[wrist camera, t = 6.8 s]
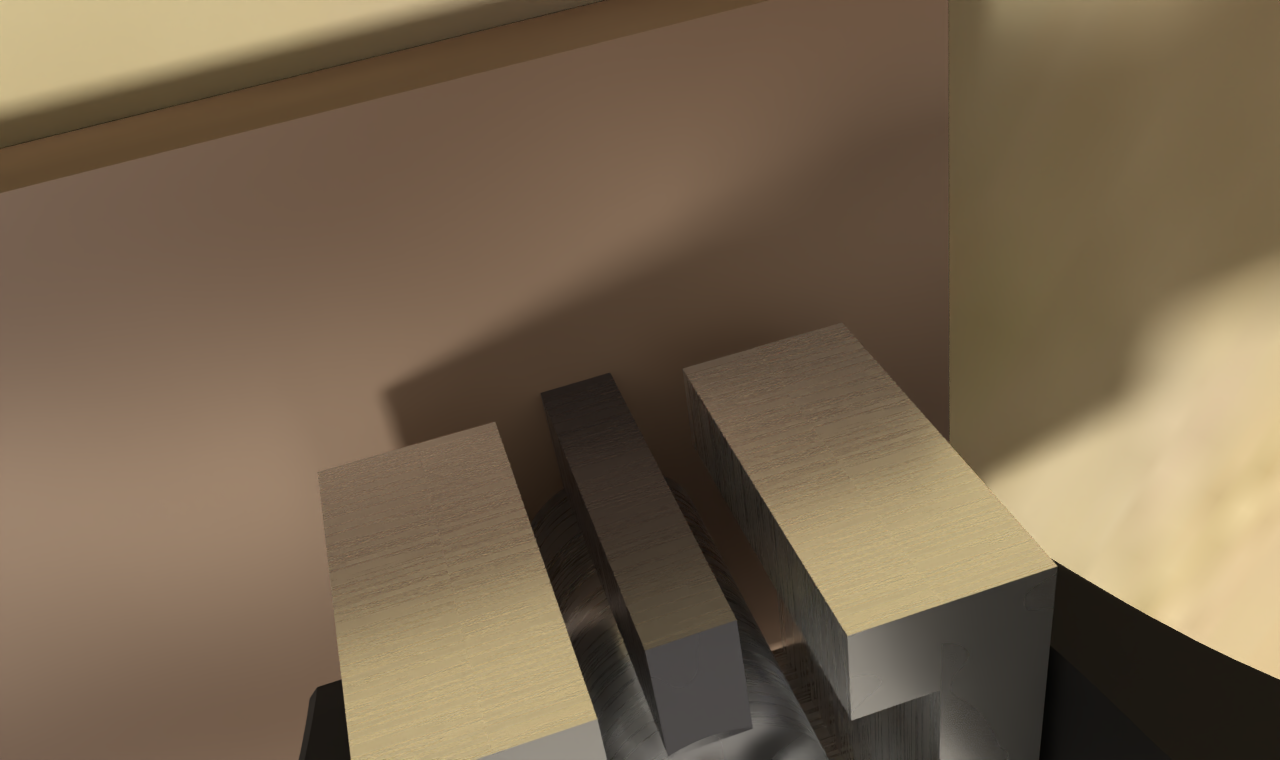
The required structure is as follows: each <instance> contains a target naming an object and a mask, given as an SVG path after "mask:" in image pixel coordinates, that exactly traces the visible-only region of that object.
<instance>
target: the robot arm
mask: <svg viewBox="0 0 1280 760" xmlns="http://www.w3.org/2000/svg"><path fill="white" fill-rule="evenodd" d="M1052 560H1053V559H1052ZM1053 562H1054V563H1055V564H1056V565H1057V566H1058V567H1057V577H1056V588H1055V598H1054V608H1053V619H1052V629H1051V640H1050V650H1049V661H1048V671H1047V681H1046V692H1045V702H1044V713H1043V723H1042V734H1041V744H1040V755H1039V760H1280V680H1279V679H1277V678H1274V677H1272V676H1270V675H1268V674H1266V673H1263V672H1261V671H1259V670H1257V669H1254V668H1252V667H1250V666H1248V665H1245V664H1243V663H1241V662H1239V661H1236V660H1234V659H1232V658H1230V657H1228V656H1226V655H1224V654H1222V653H1220V652H1218V651H1216V650H1213V649H1211V648H1209V647H1207V646H1205V645H1203V644H1201V643H1199V642H1197V641H1195V640H1193V639H1192V638H1190V637H1188V636H1186V635H1184V634H1182V633H1180V632H1178V631H1176V630H1175V629H1173V628H1171V627H1169V626H1167V625H1165V624H1163V623H1161V622H1159V621H1158V620H1156V619H1154V618H1152V617H1150V616H1148V615H1146V614H1145V613H1143V612H1141V611H1139V610H1138V609H1136V608H1134V607H1132V606H1130V605H1129V604H1127V603H1125V602H1123V601H1122V600H1120V599H1118V598H1116V597H1115V596H1113V595H1111V594H1110V593H1108V592H1106V591H1105V590H1103V589H1101V588H1099V587H1098V586H1096V585H1094V584H1093V583H1091V582H1089V581H1088V580H1086V579H1084V578H1083V577H1081V576H1079V575H1078V574H1076V573H1074V572H1072V571H1071V570H1069V569H1067V568H1066V567H1064V566H1063V565H1061V564H1059V563H1058V562H1056V561H1054V560H1053ZM299 760H351V756H350V747H349V739H348V730H347V721H346V713H345V704H344V695H343V687H342V679H341V680H338V681H335V682H331V683H328V684H325V685H322V686H319V687H317V688H316V690H315V691H314V693H313V694H312V695H311V697H310V699H309V706H308V712H307V719H306V725H305V730H304V735H303V741H302V746H301V751H300V756H299Z"/></svg>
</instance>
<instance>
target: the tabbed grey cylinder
mask: <svg viewBox="0 0 1280 760" xmlns="http://www.w3.org/2000/svg"><path fill="white" fill-rule="evenodd" d="M540 394H541V398H542V402H543V407H544V411H545V415H546V419H547V423H548V427H549V431H550V435H551V439H552V443H553V447H554V451H555V455H556V459H557V463H558V467H559V471H560V475H561V479H562V483H563V487H564V489H563V490H561V491H560V492H559V493H557V494H556V495H555V496H553V497H552V498H551V499H550V500H549V501H548V502H547V503H546V504H545V505H544V506H543V507H542V508H541V510H540V511H539V512H538V513H537V515H536V516H535V518H534V519H533V521H532V522H531V524H530V525H531V527H532V530H533V533H534V536H535V539H536V542H537V545H538V548H539V551H540V554H541V557H542V559H543V562H544V565H545V568H546V571H547V574H548V577H549V580H550V583H551V586H552V589H553V591H554V594H555V597H556V600H557V603H558V606H559V609H560V612H561V615H562V618H563V621H564V623H565V626H566V629H567V632H568V635H569V638H570V641H571V644H572V647H573V650H574V653H575V655H576V658H577V661H578V664H579V667H580V670H581V673H582V676H583V679H584V682H585V685H586V687H587V690H588V693H589V696H590V699H591V702H592V705H593V708H594V711H595V714H596V717H597V720H598V724H599V728H600V732H601V737H602V741H603V745H604V749H605V754H606V758H607V760H829V759H828V757H827V755H826V753H825V751H824V749H823V747H822V745H821V743H820V742H819V740H818V738H817V736H816V734H815V732H814V730H813V728H812V726H811V725H810V723H809V721H808V719H807V717H806V715H805V713H804V711H803V709H802V708H801V706H800V704H799V702H798V700H797V698H796V696H795V694H794V692H793V691H792V689H791V687H790V685H789V683H788V681H787V679H786V677H785V675H784V674H783V672H782V670H781V668H780V666H779V664H778V662H777V660H776V658H775V657H774V655H773V653H772V651H771V649H770V647H769V645H768V643H767V642H766V640H765V638H764V636H763V634H762V632H761V630H760V628H759V626H758V625H757V623H756V621H755V619H754V617H753V615H752V613H751V611H750V609H749V608H748V606H747V604H746V602H745V600H744V598H743V596H742V594H741V592H740V591H739V589H738V587H737V585H736V583H735V581H734V579H733V577H732V575H731V574H730V572H729V570H728V568H727V566H726V564H725V562H724V560H723V559H722V557H721V555H720V553H719V551H718V549H717V547H716V545H715V543H714V542H713V540H712V538H711V536H710V534H709V532H708V530H707V528H706V526H705V525H704V523H703V521H702V519H701V517H700V515H699V513H698V511H697V509H696V508H695V506H694V504H693V502H692V500H691V498H690V497H689V495H688V494H687V493H686V491H685V490H684V489H683V488H682V487H681V486H680V485H679V484H677V483H676V482H675V481H673V480H672V479H670V478H668V477H666V476H664V475H662V473H661V471H660V469H659V467H658V465H657V463H656V461H655V459H654V457H653V455H652V453H651V451H650V449H649V447H648V446H647V444H646V442H645V440H644V438H643V436H642V434H641V432H640V430H639V428H638V426H637V424H636V422H635V420H634V418H633V416H632V414H631V412H630V410H629V408H628V406H627V404H626V403H625V401H624V399H623V397H622V395H621V393H620V391H619V389H618V387H617V385H616V383H615V381H614V379H613V377H612V375H611V373H606V374H603V375H599V376H596V377H593V378H589V379H586V380H583V381H579V382H576V383H572V384H569V385H566V386H562V387H559V388H555V389H552V390H549V391H545V392H542V393H540Z"/></svg>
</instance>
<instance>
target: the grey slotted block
mask: <svg viewBox="0 0 1280 760" xmlns="http://www.w3.org/2000/svg"><path fill="white" fill-rule="evenodd" d="M682 371H683V378H684V386H685V393H686V400H687V407H688V415H689V422H690V429H691V437H692V444H693V445H694V447H695V449H696V451H697V452H698V454H699V456H700V458H701V459H702V461H703V463H704V465H705V466H706V468H707V470H708V471H709V473H710V475H711V477H712V478H713V480H714V482H715V484H716V485H717V487H718V489H719V491H720V492H721V494H722V496H723V498H724V499H725V501H726V503H727V505H728V506H729V508H730V510H731V512H732V513H733V515H734V517H735V519H736V520H737V522H738V524H739V526H740V527H741V529H742V531H743V532H744V534H745V536H746V538H747V539H748V541H749V543H750V545H751V546H752V548H753V550H754V552H755V553H756V555H757V557H758V559H759V560H760V562H761V564H762V566H763V567H764V569H765V571H766V573H767V574H768V576H769V578H770V580H771V581H772V583H773V585H774V587H775V588H776V590H777V598H778V608H779V619H780V630H781V640H782V648H779V649H776V650H773V651H772V653H773V655H774V657H775V658H776V660H777V662H778V664H779V666H780V668H781V670H782V672H783V674H784V675H785V677H786V679H787V681H788V683H789V685H790V687H791V689H792V691H793V692H794V694H795V696H796V698H797V700H798V702H799V704H800V706H801V708H802V709H803V711H804V713H805V715H806V717H807V719H808V721H809V723H810V725H811V726H812V728H813V730H814V732H815V734H816V736H817V738H818V740H819V742H820V743H821V745H822V747H823V749H824V751H825V753H826V755H827V757H828V759H829V760H1039V755H1040V744H1041V734H1042V723H1043V713H1044V702H1045V692H1046V681H1047V671H1048V661H1049V650H1050V640H1051V629H1052V619H1053V608H1054V598H1055V588H1056V577H1057V567H1058V566H1057V565H1056V564H1055V563H1054V562H1053V560H1052V559H1051V558H1050V557H1049V556H1048V555H1047V554H1046V553H1045V551H1044V550H1043V549H1042V548H1041V547H1040V546H1039V545H1038V544H1037V542H1036V541H1035V540H1034V539H1033V538H1032V537H1031V536H1030V534H1029V533H1028V532H1027V531H1026V530H1025V529H1024V528H1023V527H1022V525H1021V524H1020V523H1019V522H1018V521H1017V520H1016V519H1015V518H1014V516H1013V515H1012V514H1011V513H1010V512H1009V511H1008V510H1007V508H1006V507H1005V506H1004V505H1003V504H1002V503H1001V502H1000V501H999V499H998V498H997V497H996V496H995V495H994V494H993V493H992V492H991V490H990V489H989V488H988V487H987V486H986V485H985V484H984V482H983V481H982V480H981V479H980V478H979V477H978V476H977V475H976V473H975V472H974V471H973V470H972V469H971V468H970V467H969V465H968V464H967V463H966V462H965V461H964V460H963V459H962V458H961V456H960V455H959V454H958V453H957V452H956V451H955V450H954V449H953V447H952V446H951V445H950V444H949V443H948V442H947V441H946V439H945V438H944V437H943V436H942V435H941V434H940V433H939V432H938V430H937V429H936V428H935V427H934V426H933V425H932V424H931V423H930V421H929V420H928V419H927V418H926V417H925V416H924V415H923V413H922V412H921V411H920V410H919V409H918V408H917V407H916V406H915V404H914V403H913V402H912V401H911V400H910V399H909V398H908V397H907V395H906V394H905V393H904V392H903V391H902V390H901V389H900V387H899V386H898V385H897V384H896V383H895V382H894V381H893V380H892V378H891V377H890V376H889V375H888V374H887V373H886V372H885V371H884V369H883V368H882V367H881V366H880V365H879V364H878V363H877V361H876V360H875V359H874V358H873V357H872V356H871V355H870V354H869V352H868V351H867V350H866V349H865V348H864V347H863V346H862V345H861V343H860V342H859V341H858V340H857V339H856V338H855V337H854V335H853V334H852V333H851V332H850V331H849V330H848V329H847V328H846V326H845V325H844V324H843V323H839V324H836V325H832V326H828V327H825V328H821V329H818V330H814V331H811V332H807V333H804V334H800V335H797V336H793V337H790V338H786V339H783V340H779V341H776V342H772V343H769V344H765V345H762V346H758V347H755V348H751V349H748V350H744V351H741V352H737V353H734V354H730V355H727V356H723V357H720V358H716V359H713V360H709V361H705V362H702V363H698V364H695V365H691V366H688V367H684V368H682ZM318 479H319V488H320V497H321V505H322V514H323V523H324V531H325V540H326V549H327V557H328V566H329V574H330V583H331V592H332V600H333V609H334V618H335V626H336V635H337V644H338V652H339V661H340V670H341V678H342V687H343V695H344V704H345V713H346V721H347V730H348V739H349V747H350V756H351V760H607V758H606V754H605V749H604V745H603V741H602V737H601V732H600V728H599V724H598V720H597V717H596V714H595V711H594V708H593V705H592V702H591V699H590V696H589V693H588V690H587V687H586V685H585V682H584V679H583V676H582V673H581V670H580V667H579V664H578V661H577V658H576V655H575V653H574V650H573V647H572V644H571V641H570V638H569V635H568V632H567V629H566V626H565V623H564V621H563V618H562V615H561V612H560V609H559V606H558V603H557V600H556V597H555V594H554V591H553V589H552V586H551V583H550V580H549V577H548V574H547V571H546V568H545V565H544V562H543V559H542V557H541V554H540V551H539V548H538V545H537V542H536V539H535V536H534V533H533V530H532V527H531V525H530V522H529V519H528V516H527V513H526V510H525V507H524V504H523V501H522V498H521V495H520V493H519V490H518V487H517V484H516V481H515V478H514V475H513V472H512V469H511V466H510V463H509V461H508V458H507V455H506V452H505V449H504V446H503V443H502V440H501V437H500V434H499V431H498V429H497V426H496V423H495V422H491V423H488V424H484V425H481V426H477V427H474V428H470V429H467V430H463V431H460V432H456V433H452V434H449V435H445V436H442V437H438V438H435V439H431V440H428V441H424V442H421V443H417V444H414V445H410V446H407V447H403V448H400V449H396V450H393V451H389V452H386V453H382V454H379V455H375V456H372V457H368V458H365V459H361V460H358V461H354V462H351V463H347V464H344V465H340V466H337V467H333V468H329V469H326V470H322V471H319V472H318Z"/></svg>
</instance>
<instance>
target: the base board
mask: <svg viewBox="0 0 1280 760" xmlns="http://www.w3.org/2000/svg"><path fill="white" fill-rule="evenodd" d="M839 323H843V324H844V325H845V326H846V328H847V329H848V330H849V331H850V332H851V333H852V334H853V335H854V337H855V338H856V339H857V340H858V341H859V342H860V343H861V345H862V346H863V347H864V348H865V349H866V350H867V351H868V352H869V354H870V355H871V356H872V357H873V358H874V359H875V360H876V361H877V363H878V364H879V365H880V366H881V367H882V368H883V369H884V371H885V372H886V373H887V374H888V375H889V376H890V377H891V378H892V380H893V381H894V382H895V383H896V384H897V385H898V386H899V387H900V389H901V390H902V391H903V392H904V393H905V394H906V395H907V397H908V398H909V399H910V400H911V401H912V402H913V403H914V404H915V406H916V407H917V408H918V409H919V410H920V411H921V412H922V413H923V415H924V416H925V417H926V418H927V419H928V420H929V421H930V423H931V424H932V425H933V426H934V427H935V428H936V429H937V430H938V432H939V433H940V434H941V435H942V436H943V437H944V438H945V439H946V441H947V442H948V443H949V46H948V0H605V1H601V2H597V3H593V4H589V5H585V6H581V7H576V8H572V9H568V10H564V11H560V12H556V13H552V14H548V15H544V16H540V17H536V18H532V19H527V20H523V21H519V22H515V23H511V24H507V25H503V26H499V27H495V28H491V29H487V30H483V31H479V32H474V33H470V34H466V35H462V36H458V37H454V38H450V39H446V40H442V41H438V42H434V43H430V44H426V45H421V46H417V47H413V48H409V49H405V50H401V51H397V52H393V53H389V54H385V55H381V56H377V57H373V58H368V59H364V60H360V61H356V62H352V63H348V64H344V65H340V66H336V67H332V68H328V69H324V70H320V71H315V72H311V73H307V74H303V75H299V76H295V77H291V78H287V79H283V80H279V81H275V82H271V83H267V84H262V85H258V86H254V87H250V88H246V89H242V90H238V91H234V92H230V93H226V94H222V95H218V96H214V97H209V98H205V99H201V100H197V101H193V102H189V103H185V104H181V105H177V106H173V107H169V108H165V109H161V110H156V111H152V112H148V113H144V114H140V115H136V116H132V117H128V118H124V119H120V120H116V121H112V122H107V123H103V124H99V125H95V126H91V127H87V128H83V129H79V130H75V131H71V132H67V133H63V134H59V135H54V136H50V137H46V138H42V139H38V140H34V141H30V142H26V143H22V144H18V145H14V146H10V147H6V148H1V149H0V760H299V756H300V751H301V746H302V741H303V735H304V730H305V725H306V719H307V712H308V706H309V699H310V697H311V695H312V694H313V693H314V691H315V690H316V688H317V687H319V686H322V685H325V684H328V683H331V682H335V681H338V680H341V679H342V678H341V670H340V661H339V652H338V644H337V635H336V626H335V618H334V609H333V600H332V592H331V583H330V574H329V566H328V557H327V549H326V540H325V531H324V523H323V514H322V505H321V497H320V488H319V479H318V472H319V471H322V470H326V469H329V468H333V467H337V466H340V465H344V464H347V463H351V462H354V461H358V460H361V459H365V458H368V457H372V456H375V455H379V454H382V453H386V452H389V451H393V450H396V449H400V448H403V447H407V446H410V445H414V444H417V443H421V442H424V441H428V440H431V439H435V438H438V437H442V436H445V435H449V434H452V433H456V432H460V431H463V430H467V429H470V428H474V427H477V426H481V425H484V424H488V423H491V422H495V423H496V426H497V429H498V431H499V434H500V437H501V440H502V443H503V446H504V449H505V452H506V455H507V458H508V461H509V463H510V466H511V469H512V472H513V475H514V478H515V481H516V484H517V487H518V490H519V493H520V495H521V498H522V501H523V504H524V507H525V510H526V513H527V516H528V519H529V522H530V524H531V522H532V521H533V519H534V518H535V516H536V515H537V513H538V512H539V511H540V510H541V508H542V507H543V506H544V505H545V504H546V503H547V502H548V501H549V500H550V499H551V498H552V497H553V496H555V495H556V494H557V493H559V492H560V491H561V490H563V489H564V487H563V483H562V479H561V475H560V471H559V467H558V463H557V459H556V455H555V451H554V447H553V443H552V439H551V435H550V431H549V427H548V423H547V419H546V415H545V411H544V407H543V402H542V398H541V394H540V393H542V392H545V391H549V390H552V389H555V388H559V387H562V386H566V385H569V384H572V383H576V382H579V381H583V380H586V379H589V378H593V377H596V376H599V375H603V374H606V373H611V375H612V377H613V379H614V381H615V383H616V385H617V387H618V389H619V391H620V393H621V395H622V397H623V399H624V401H625V403H626V404H627V406H628V408H629V410H630V412H631V414H632V416H633V418H634V420H635V422H636V424H637V426H638V428H639V430H640V432H641V434H642V436H643V438H644V440H645V442H646V444H647V446H648V447H649V449H650V451H651V453H652V455H653V457H654V459H655V461H656V463H657V465H658V467H659V469H660V471H661V473H662V475H664V476H666V477H668V478H670V479H672V480H673V481H675V482H676V483H677V484H679V485H680V486H681V487H682V488H683V489H684V490H685V491H686V493H687V494H688V495H689V497H690V498H691V500H692V502H693V504H694V506H695V508H696V509H697V511H698V513H699V515H700V517H701V519H702V521H703V523H704V525H705V526H706V528H707V530H708V532H709V534H710V536H711V538H712V540H713V542H714V543H715V545H716V547H717V549H718V551H719V553H720V555H721V557H722V559H723V560H724V562H725V564H726V566H727V568H728V570H729V572H730V574H731V575H732V577H733V579H734V581H735V583H736V585H737V587H738V589H739V591H740V592H741V594H742V596H743V598H744V600H745V602H746V604H747V606H748V608H749V609H750V611H751V613H752V615H753V617H754V619H755V621H756V623H757V625H758V626H759V628H760V630H761V632H762V634H763V636H764V638H765V640H766V642H767V643H768V645H769V647H770V649H771V651H773V650H776V649H779V648H782V640H781V630H780V619H779V608H778V598H777V590H776V588H775V587H774V585H773V583H772V581H771V580H770V578H769V576H768V574H767V573H766V571H765V569H764V567H763V566H762V564H761V562H760V560H759V559H758V557H757V555H756V553H755V552H754V550H753V548H752V546H751V545H750V543H749V541H748V539H747V538H746V536H745V534H744V532H743V531H742V529H741V527H740V526H739V524H738V522H737V520H736V519H735V517H734V515H733V513H732V512H731V510H730V508H729V506H728V505H727V503H726V501H725V499H724V498H723V496H722V494H721V492H720V491H719V489H718V487H717V485H716V484H715V482H714V480H713V478H712V477H711V475H710V473H709V471H708V470H707V468H706V466H705V465H704V463H703V461H702V459H701V458H700V456H699V454H698V452H697V451H696V449H695V447H694V445H693V444H692V437H691V429H690V422H689V415H688V407H687V400H686V393H685V386H684V378H683V371H682V368H684V367H688V366H691V365H695V364H698V363H702V362H705V361H709V360H713V359H716V358H720V357H723V356H727V355H730V354H734V353H737V352H741V351H744V350H748V349H751V348H755V347H758V346H762V345H765V344H769V343H772V342H776V341H779V340H783V339H786V338H790V337H793V336H797V335H800V334H804V333H807V332H811V331H814V330H818V329H821V328H825V327H828V326H832V325H836V324H839Z"/></svg>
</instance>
